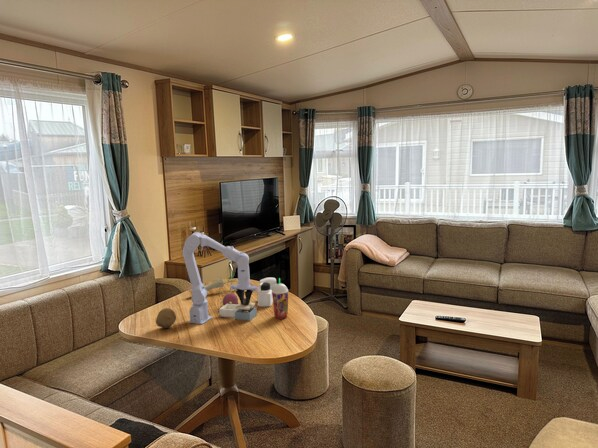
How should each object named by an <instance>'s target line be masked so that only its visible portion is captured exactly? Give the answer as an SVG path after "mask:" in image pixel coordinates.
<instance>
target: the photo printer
mask: <svg viewBox="0 0 598 448" xmlns="http://www.w3.org/2000/svg"><path fill="white" fill-rule="evenodd" d="M263 282H267V283H270V290H272V289H273V287H274V286H275V285H276V284H278V283H277V279H276V278H275V277H265V278H262V279H260V280H259V281H258V285H259V284H260V283H263Z"/></svg>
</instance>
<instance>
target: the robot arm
mask: <svg viewBox="0 0 598 448" xmlns="http://www.w3.org/2000/svg"><path fill="white" fill-rule="evenodd" d="M199 245H200V247H209V248H212V249H214V250H216V251H218V252H220V253H222V256H223V258H224V257H225V258H226V259H228V260H230V261H232V262H234V263H236V265H237V284H232V285H230V288H231V290H236V291H235V295H236V296H237V298H238V300H239V303H241V304H243V299H244V298H246V305H248V304H249V303H250V301H251V298H252V295H253V292H257V293H258V292H259V286H256V285H251V279H250V278H251V277H250V265H249V264H250V263H249V261H250V256H249V254H247V253H246V252H243V251H242V250H241V251H240V250H238V249H236V248H234V246H233V245H232V246H230V245H227V246H225V245H223V244H222V243H220V242H218V241H216V240H215V239H213V238H212V237H209V236H208V235H206V234H203V233H201V232H200V231H194V232H193V233H192V234H191V235H189V236H188V237H187V238H186V239H185V241H184V245H183V248H182V250H181V251H182V257H183V261H184V263H185V264H184V265H185V267H186V270H187V274H188V277H189V278H188V279H189V281H190V285H191V288H190V293H191V292H192V294H191V299H190V300H191V302H192V306H191V307H190V309H189V310H188V311H189V312H188V313H189V321H188V323H189V324H197V325H203V324H205V323H206V322H207V321H210V320H211V319H212V318H213V316H211V315H209V305H208V302H209V301H208V299H207V296H208V291H207V290H206V289H205V287H204V286H205V284H204V283H203V282H202V279H201V275H200V272H199V268H198V265H197V261H196V258H195V254H194V252H195V251H196V249H197V248H198V247H199ZM231 290H230V291H231Z"/></svg>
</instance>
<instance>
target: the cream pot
mask: <svg viewBox="0 0 598 448" xmlns="http://www.w3.org/2000/svg"><path fill="white" fill-rule="evenodd" d="M237 305H238V304H237ZM237 305H236V304H226V305H223V306H221V307H219V311H218V312H219V317H223V318H230V319H231V318H232V319H234V318H235V312H236V311H237V310H238V309H235V307H236V306H237Z"/></svg>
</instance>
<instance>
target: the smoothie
mask: <svg viewBox="0 0 598 448" xmlns="http://www.w3.org/2000/svg"><path fill="white" fill-rule="evenodd" d="M272 298H273V303H272V305H273V313H274V316H275V318H276V319H278V320H280V319H286V318H287V317H288V315H289V289H288V287H287V286H286V285H285V284H284V283H282V282H281V278H280V277H279V278H278V283H277V284H276V285H275V286H274V287H273V289H272Z"/></svg>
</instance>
